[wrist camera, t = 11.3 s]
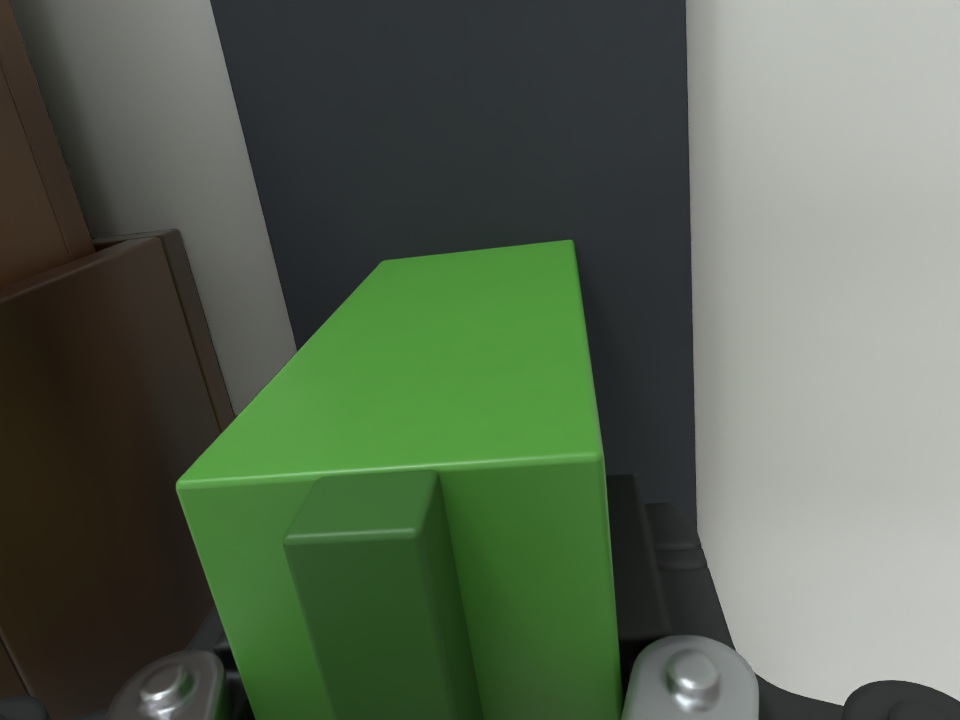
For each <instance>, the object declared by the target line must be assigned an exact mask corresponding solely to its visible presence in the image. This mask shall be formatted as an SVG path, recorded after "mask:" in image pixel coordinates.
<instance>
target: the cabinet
mask: <svg viewBox="0 0 960 720" xmlns="http://www.w3.org/2000/svg"><path fill="white" fill-rule="evenodd" d="M91 240H92V243H93V246H94V249H95V251H96V252H95V253H93V254H90V255H88V256H85V257H82V258H80V259H77V260H74V261H72V262H69V263H66V264H64V265H61V266H59V267H56V268H53V269H51V270H48V271H45V272H43V273H40V274H38V275H35V276H32V277H30V278H27V279H24V280H22V281H19V282H16V283H14V284H11V285H9V286H6V287H3V288H1V289H0V699H3V698H7V697H11V696H19V695H28V696H33V697H36V698H38V699H40V700H41V701H42V702H43V703H44V705H45V707H46V709H47V711H48V713H49V715H50V717H51V719H52V720H65V719H68V718H72V717H75V716H79V715H82V714H86V713H89V712H93V711H96V710H100V709H103V708H107V707H110V705H111V703H112V701H113V699H114V697H115V696H116V694H117V693H118V691H119V690H120V688H121V687H122V686H123V685H124V684H125V683H126V682H127V681H128V680H129V679H130V678H131V677H132V676H133V675H134V674H135V673H137V672H138V671H139V670H141V669H142V668H144V667H145V666H147V665H148V664H150V663H152V662H153V661H155V660H157V659H159V658H161V657H164V656H166V655H169V654H172V653H175V652H179V651H184V650H185V649H186V647H187V646H188V644H189V643H190V641H191V639H192V638H193V636H194V635H195V633H196V632H197V630H198V629H199V627H200V625H201V624H202V622H203V621H204V619H205V618H206V616H207V615H208V613H209V612H210V610H211V608H212V607H213V605H214V604H215V601H214V598H213V596H212V593H211V590H210V587H209V584H208V581H207V578H206V575H205V572H204V570H203V567H202V564H201V561H200V558H199V555H198V552H197V549H196V547H195V544H194V541H193V538H192V535H191V532H190V529H189V526H188V523H187V521H186V518H185V515H184V512H183V509H182V506H181V503H180V500H179V497H178V495H177V492H176V483H177V481H178V479H179V478H180V477H181V476H182V475H183V474H184V473H185V472H186V471H187V470H188V469H189V468H190V467H191V465H192V464H193V463H194V462H195V461H196V460H197V459H198V458H199V457H200V456H201V455H202V454H203V453H204V452H205V450H206V449H207V448H208V447H209V446H210V445H211V444H212V443H213V442H214V441H215V440H216V439H217V438H218V437H219V435H220V434H221V433H222V432H223V431H224V430H225V429H226V428H227V427H228V426H229V425H230V424H231V423H232V422H233V420H234V415H233V412H232V409H231V405H230V402H229V399H228V395H227V392H226V388H225V385H224V382H223V378H222V375H221V372H220V368H219V365H218V361H217V358H216V355H215V351H214V348H213V345H212V341H211V338H210V334H209V331H208V328H207V324H206V321H205V318H204V314H203V311H202V307H201V304H200V301H199V297H198V294H197V291H196V287H195V284H194V281H193V277H192V274H191V270H190V267H189V264H188V260H187V257H186V254H185V250H184V247H183V243H182V240H181V237H180V233H179V231H178V230H176V229H170V230H162V231H154V232H146V233H138V234H130V235H122V236H114V237H106V238H97V239H91Z"/></svg>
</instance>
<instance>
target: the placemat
mask: <svg viewBox="0 0 960 720" xmlns="http://www.w3.org/2000/svg"><path fill="white" fill-rule="evenodd" d="M210 2H211V6H212V10H213V14H214V18H215V22H216V26H217V30H218V34H219V38H220V42H221V46H222V50H223V54H224V58H225V62H226V66H227V70H228V74H229V78H230V82H231V86H232V90H233V94H234V98H235V102H236V106H237V110H238V114H239V118H240V122H241V126H242V130H243V134H244V138H245V142H246V146H247V150H248V154H249V158H250V162H251V167H252V171H253V175H254V179H255V183H256V187H257V191H258V195H259V199H260V203H261V207H262V211H263V215H264V219H265V223H266V227H267V231H268V235H269V239H270V243H271V247H272V251H273V255H274V259H275V263H276V267H277V271H278V275H279V279H280V283H281V287H282V291H283V295H284V299H285V303H286V307H287V311H288V315H289V319H290V323H291V327H292V331H293V335H294V339H295V343H296V347H297V351H299V350H300V349H301V348H302V346H303V345H304V344H305V343H306V342H307V341H308V340H309V339H310V338H311V337H312V336H313V335H314V334H315V333H316V331H317V330H318V329H319V328H320V327H321V326H322V325H323V324H324V323H325V322H326V321H327V320H328V319H329V317H330V316H331V315H332V314H333V313H334V312H335V311H336V310H337V309H338V308H339V307H340V306H341V305H342V304H343V302H344V301H345V300H346V299H347V298H348V297H349V296H350V295H351V294H352V293H353V292H354V291H355V290H356V289H357V287H358V286H359V285H360V284H361V283H362V282H363V281H364V280H365V279H366V278H367V277H368V276H369V275H370V274H371V272H372V271H373V270H374V269H375V268H376V267H377V266H378V265H379V264H380V263H381V262H382V261H384V260H392V259H401V258H410V257H419V256H428V255H437V254H446V253H455V252H464V251H473V250H482V249H491V248H500V247H508V246H517V245H526V244H535V243H544V242H553V241H562V240H573V242H574V244H575V252H576V259H577V266H578V273H579V280H580V288H581V295H582V302H583V309H584V316H585V323H586V331H587V338H588V345H589V352H590V359H591V366H592V374H593V381H594V388H595V395H596V402H597V410H598V417H599V424H600V431H601V438H602V445H603V453H604V462H605V474H606V475H618V474H634V473H637V475H638V479H639V484H640V488H641V493H642V498H643V502H644V504H653V503H671V502H674V503H675V504H676V505H677V506H678V507H679V508H680V509H681V510H682V511H683V512H685V513H686V514H687V515H688V516H689V517H690V518H691V519H692V520H693V521H694V524H695V527H696V530H697V509H696V462H695V416H694V370H693V323H692V277H691V231H690V184H689V138H688V92H687V45H686V0H210Z"/></svg>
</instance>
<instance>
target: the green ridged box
mask: <svg viewBox="0 0 960 720" xmlns="http://www.w3.org/2000/svg"><path fill="white" fill-rule="evenodd" d="M176 492H177V495H178V497H179V500H180V503H181V506H182V509H183V512H184V515H185V518H186V521H187V523H188V526H189V529H190V532H191V535H192V538H193V541H194V544H195V547H196V549H197V552H198V555H199V558H200V561H201V564H202V567H203V570H204V572H205V575H206V578H207V581H208V584H209V587H210V590H211V593H212V596H213V598H214V601H215V604H216V607H217V610H218V613H219V616H220V619H221V622H222V624H223V627H224V630H225V633H226V636H227V639H228V642H229V645H230V648H231V650H232V653H233V656H234V659H235V662H236V665H237V668H238V671H239V674H240V676H241V679H242V682H243V685H244V688H245V691H246V694H247V697H248V699H249V702H250V705H251V708H252V711H253V714H254V717H255V720H621V717H622V712H623V708H624V706H623V693H622V680H621V667H620V654H619V642H618V629H617V616H616V603H615V590H614V577H613V564H612V552H611V539H610V526H609V513H608V500H607V487H606V474H605V462H604V453H603V445H602V438H601V431H600V424H599V417H598V410H597V402H596V395H595V388H594V381H593V374H592V366H591V359H590V352H589V345H588V338H587V331H586V323H585V316H584V309H583V302H582V295H581V288H580V280H579V273H578V266H577V259H576V252H575V244H574V242H573V240H562V241H553V242H544V243H535V244H526V245H517V246H508V247H500V248H491V249H482V250H473V251H464V252H455V253H446V254H437V255H428V256H419V257H410V258H401V259H392V260H384V261H382V262H381V263H380V264H379V265H378V266H377V267H376V268H375V269H374V270H373V271H372V272H371V274H370V275H369V276H368V277H367V278H366V279H365V280H364V281H363V282H362V283H361V284H360V285H359V286H358V287H357V289H356V290H355V291H354V292H353V293H352V294H351V295H350V296H349V297H348V298H347V299H346V300H345V301H344V302H343V304H342V305H341V306H340V307H339V308H338V309H337V310H336V311H335V312H334V313H333V314H332V315H331V316H330V317H329V319H328V320H327V321H326V322H325V323H324V324H323V325H322V326H321V327H320V328H319V329H318V330H317V331H316V333H315V334H314V335H313V336H312V337H311V338H310V339H309V340H308V341H307V342H306V343H305V344H304V345H303V346H302V348H301V349H300V350H299V351H298V352H297V353H296V354H295V355H294V356H293V357H292V358H291V359H290V360H289V361H288V363H287V364H286V365H285V366H284V367H283V368H282V369H281V370H280V371H279V372H278V373H277V374H276V375H275V376H274V378H273V379H272V380H271V381H270V382H269V383H268V384H267V385H266V386H265V387H264V388H263V389H262V390H261V391H260V393H259V394H258V395H257V396H256V397H255V398H254V399H253V400H252V401H251V402H250V403H249V404H248V405H247V407H246V408H245V409H244V410H243V411H242V412H241V413H240V414H239V415H238V416H237V417H236V418H235V419H234V420H233V422H232V423H231V424H230V425H229V426H228V427H227V428H226V429H225V430H224V431H223V432H222V433H221V434H220V435H219V437H218V438H217V439H216V440H215V441H214V442H213V443H212V444H211V445H210V446H209V447H208V448H207V449H206V450H205V452H204V453H203V454H202V455H201V456H200V457H199V458H198V459H197V460H196V461H195V462H194V463H193V464H192V465H191V467H190V468H189V469H188V470H187V471H186V472H185V473H184V474H183V475H182V476H181V477H180V478H179V479H178V481H177V483H176Z"/></svg>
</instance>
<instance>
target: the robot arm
mask: <svg viewBox="0 0 960 720" xmlns="http://www.w3.org/2000/svg"><path fill="white" fill-rule="evenodd" d="M606 487H607V500H608V513H609V526H610V539H611V552H612V564H613V577H614V590H615V603H616V616H617V629H618V642H619V654H620V667H621V680H622V693H623V706H624V708H623V712H622V717H621V720H960V702H959V701H958V700H956V699H954V698H952V697H950V696H949V695H947V694H945V693H943V692H940V691H938V690H935V689H933V688H930V687H927V686H924V685H920V684H917V683H912V682H906V681H896V680H886V681H877V682H872V683H869V684H866V685H864V686H861V687H859V688H858V689H857V690H855V691H854V692H853V693H852V694H851V695H850V696H849V697H848V698H847V700H846V702H845V704H844V706H841V705H837V704H833V703H829V702H824V701H820V700H816V699H812V698H808V697H804V696H800V695H797V694H794V693H790V692H788V691H786V690H783V689H781V688H778V687H776V686H775V685H773V684H771V683H769V682H767V681H766V680H764V679H763V678H761V677H760V676H758V675H757V674H756V673H755V672H754V671H753V670H752V668H751V666H750V665H749V664H748V663H747V661H746V660H745V659H744V658H743V657H742V656H741V655H740V654H738V653H737V651H736V650H735V647H734V645H733V643H732V639H731V636H730V633H729V630H728V627H727V624H726V621H725V618H724V614H723V611H722V608H721V605H720V602H719V599H718V596H717V593H716V589H715V586H714V583H713V580H712V577H711V574H710V571H709V568H708V567H707V561H706V558H705V555H704V552H703V549H702V548H701V543H700V539H699V536H698V533H697V530H696V527H695V524H694V521H693V520H692V519H691V518H690V517H689V516H688V515H687V514H686V513H685V512H683V511H682V510H681V509H680V508H679V507H678V506H677V505H676V504H675V503H674V502H671V503H653V504H644V502H643V498H642V493H641V488H640V484H639V479H638V475H637V473H634V474H618V475H606ZM0 720H52V719H51V717H50V715H49V713H48V711H47V709H46V707H45V705H44V703H43V702H42V701H41V700H40V699H38V698H36V697H33V696H28V695H19V696H11V697H7V698H3V699H0ZM65 720H255V717H254V714H253V711H252V708H251V705H250V702H249V699H248V697H247V694H246V691H245V688H244V685H243V682H242V679H241V676H240V674H239V671H238V668H237V665H236V662H235V659H234V656H233V653H232V650H231V648H230V645H229V642H228V639H227V636H226V633H225V630H224V627H223V624H222V622H221V619H220V616H219V613H218V610H217V607H216V604H214V605H213V607H212V608H211V610H210V612H209V613H208V615H207V616H206V618H205V619H204V621H203V622H202V624H201V625H200V627H199V629H198V630H197V632H196V633H195V635H194V636H193V638H192V639H191V641H190V643H189V644H188V646H187V647H186V649H185V650H184V651H179V652H175V653H172V654H169V655H166V656H164V657H161V658H159V659H157V660H155V661H153V662H152V663H150V664H148V665H147V666H145V667H144V668H142V669H141V670H139V671H138V672H137V673H135V674H134V675H133V676H132V677H131V678H130V679H129V680H128V681H127V682H126V683H125V684H124V685H123V686H122V687H121V688H120V690H119V691H118V693H117V694H116V696H115V697H114V699H113V701H112V703H111V705H110V707H107V708H103V709H100V710H96V711H93V712H89V713H86V714H82V715H79V716H75V717H72V718H68V719H65Z"/></svg>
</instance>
